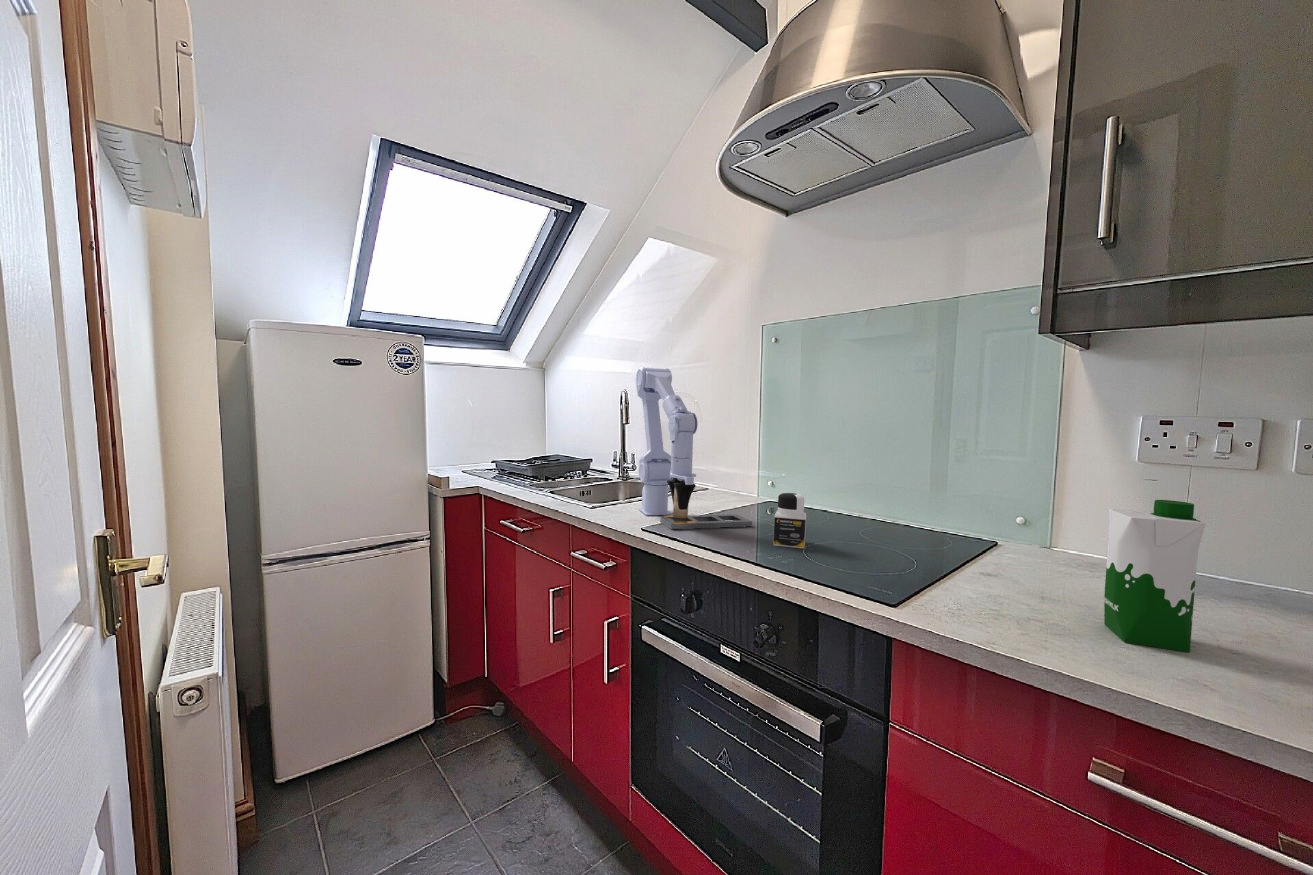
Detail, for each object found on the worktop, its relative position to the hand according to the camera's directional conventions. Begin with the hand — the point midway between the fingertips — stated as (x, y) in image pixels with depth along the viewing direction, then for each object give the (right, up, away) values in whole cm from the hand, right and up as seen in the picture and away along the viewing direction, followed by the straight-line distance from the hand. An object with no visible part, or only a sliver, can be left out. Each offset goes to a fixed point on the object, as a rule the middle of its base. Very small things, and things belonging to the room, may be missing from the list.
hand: (680, 507), depth 141 cm
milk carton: (+64, -10, -66) cm, 92 cm away
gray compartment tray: (+7, -5, +2) cm, 9 cm away
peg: (0, -3, 0) cm, 3 cm away
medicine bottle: (+25, -7, -16) cm, 31 cm away
